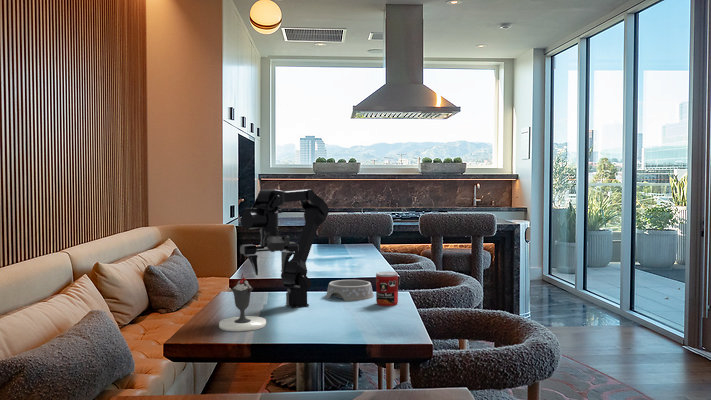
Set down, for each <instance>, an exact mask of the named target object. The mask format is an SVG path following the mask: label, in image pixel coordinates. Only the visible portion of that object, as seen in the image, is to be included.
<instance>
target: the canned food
mask: <svg viewBox="0 0 711 400" xmlns="http://www.w3.org/2000/svg"><path fill="white" fill-rule="evenodd" d="M375 284H376V285H375V290H376V291H375V294H376V295H375V297H376V299H375V303H376V305H378V306H380V307H392V306H396V305H398V302H399V275H398V272H396V271H378V272H376V275H375Z"/></svg>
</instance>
